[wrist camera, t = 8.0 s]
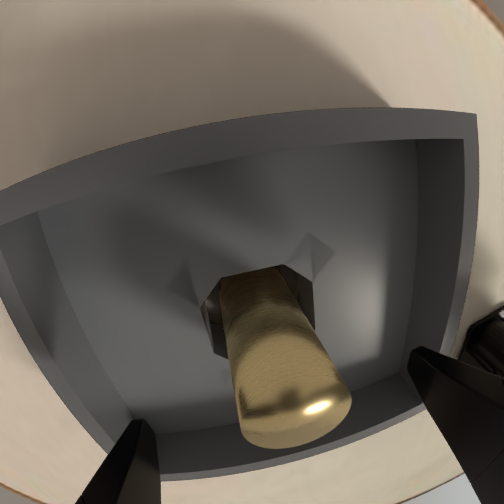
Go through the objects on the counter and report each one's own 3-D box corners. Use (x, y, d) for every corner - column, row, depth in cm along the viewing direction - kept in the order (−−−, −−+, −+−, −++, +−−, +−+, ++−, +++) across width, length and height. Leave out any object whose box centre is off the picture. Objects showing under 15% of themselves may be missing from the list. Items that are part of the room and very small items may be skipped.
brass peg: (281, 255, 15) (355, 364, 7) (288, 312, 16) (347, 430, 8) (212, 270, 14) (229, 398, 7) (226, 327, 16) (250, 457, 8)
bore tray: (397, 113, 13) (476, 113, 8) (391, 355, 19) (431, 406, 14) (40, 180, 11) (-31, 207, 6) (142, 415, 17) (136, 481, 12)
